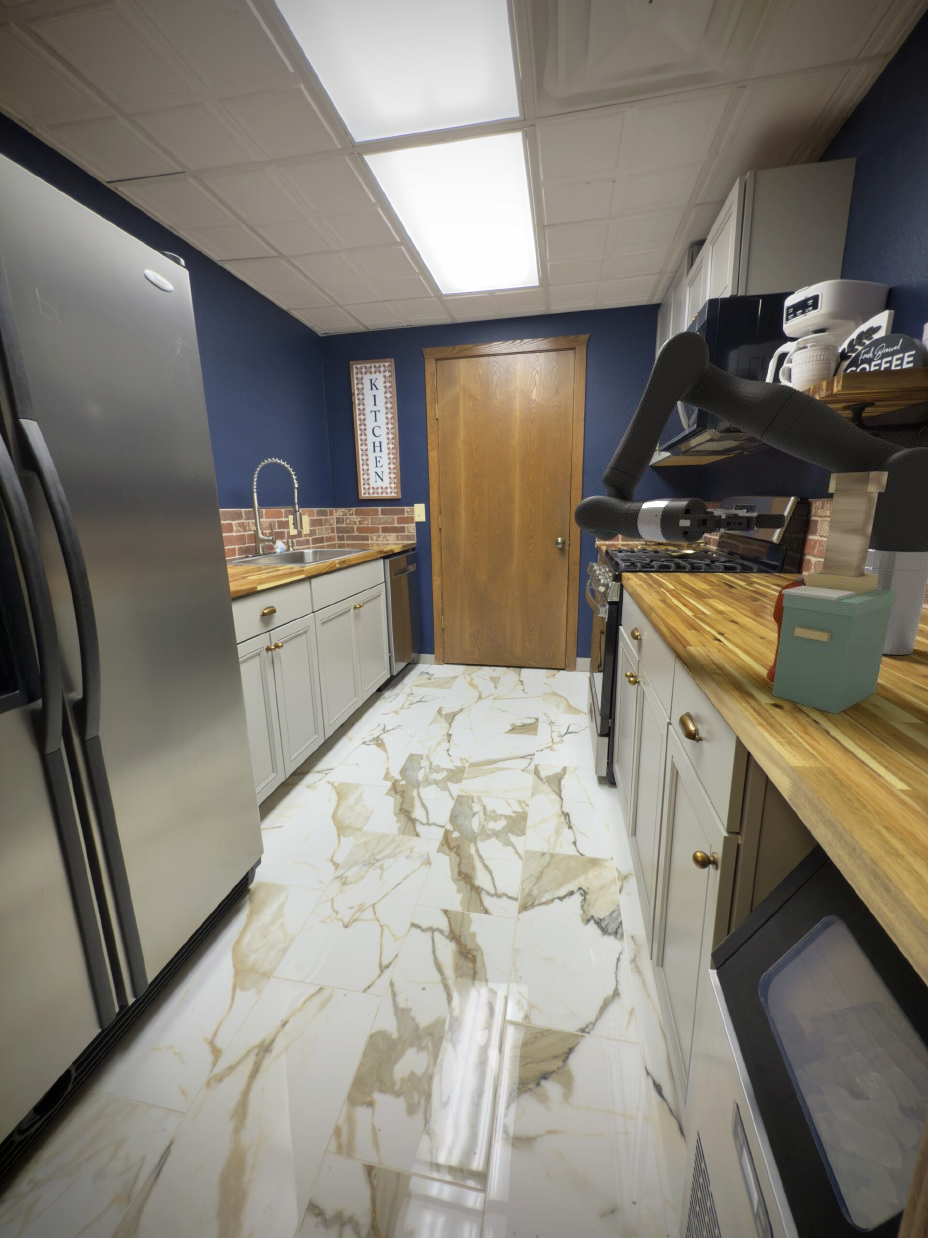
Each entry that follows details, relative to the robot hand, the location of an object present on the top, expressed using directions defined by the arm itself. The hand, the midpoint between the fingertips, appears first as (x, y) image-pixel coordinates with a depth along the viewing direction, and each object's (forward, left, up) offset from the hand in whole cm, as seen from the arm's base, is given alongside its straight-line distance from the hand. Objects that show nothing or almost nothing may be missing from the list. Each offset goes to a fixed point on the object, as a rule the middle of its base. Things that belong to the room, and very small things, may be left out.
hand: (769, 522), depth 72 cm
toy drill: (-4, +4, -23) cm, 24 cm away
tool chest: (+3, +11, -23) cm, 25 cm away
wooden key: (0, +10, -9) cm, 13 cm away
